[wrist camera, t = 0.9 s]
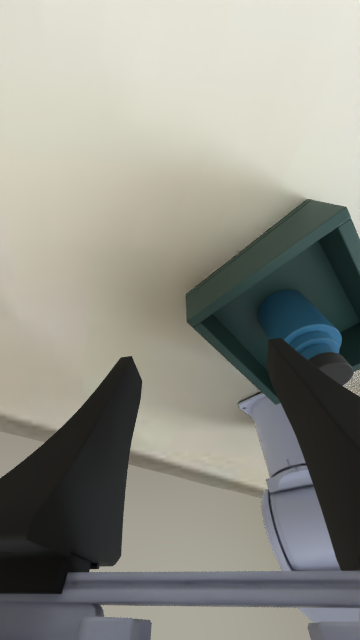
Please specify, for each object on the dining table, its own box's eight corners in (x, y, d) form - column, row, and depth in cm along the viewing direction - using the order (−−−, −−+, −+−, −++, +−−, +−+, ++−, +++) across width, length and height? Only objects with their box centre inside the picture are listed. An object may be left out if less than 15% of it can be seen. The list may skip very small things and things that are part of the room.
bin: (367, 319, 22) (405, 349, 18) (262, 372, 27) (275, 405, 23) (307, 198, 16) (347, 206, 12) (185, 294, 21) (186, 321, 17)
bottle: (314, 312, 21) (378, 380, 14) (271, 336, 23) (310, 407, 16) (293, 279, 19) (356, 339, 12) (248, 308, 21) (281, 375, 14)
